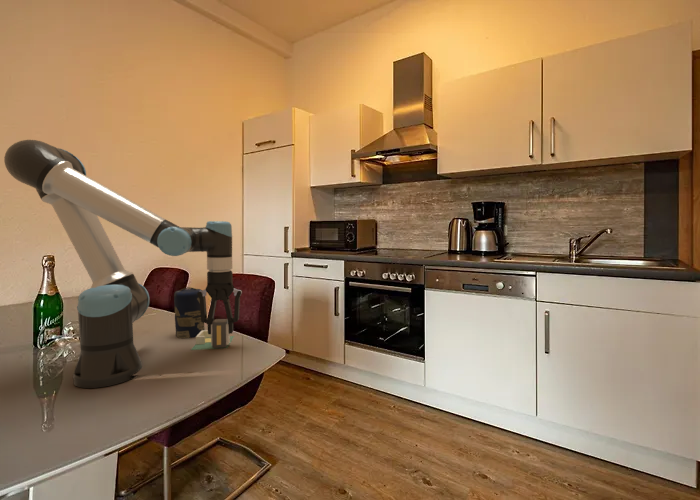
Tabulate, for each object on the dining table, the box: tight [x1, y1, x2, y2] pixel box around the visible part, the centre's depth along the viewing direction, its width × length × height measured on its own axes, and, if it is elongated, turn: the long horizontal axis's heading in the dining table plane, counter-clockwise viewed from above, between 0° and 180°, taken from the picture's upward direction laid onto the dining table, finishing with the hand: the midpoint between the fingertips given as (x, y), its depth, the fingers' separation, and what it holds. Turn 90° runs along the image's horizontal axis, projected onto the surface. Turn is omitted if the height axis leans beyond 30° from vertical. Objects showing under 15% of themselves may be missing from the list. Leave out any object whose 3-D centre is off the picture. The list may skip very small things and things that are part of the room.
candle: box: [173, 286, 206, 339], centre depth 130 cm, size 10×10×18 cm
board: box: [190, 335, 235, 351], centre depth 121 cm, size 13×11×1 cm
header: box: [195, 329, 211, 345], centre depth 123 cm, size 8×8×2 cm
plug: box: [212, 318, 228, 348], centre depth 116 cm, size 4×4×8 cm
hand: (220, 343), depth 117 cm, fingers closed on plug, 4 cm apart
